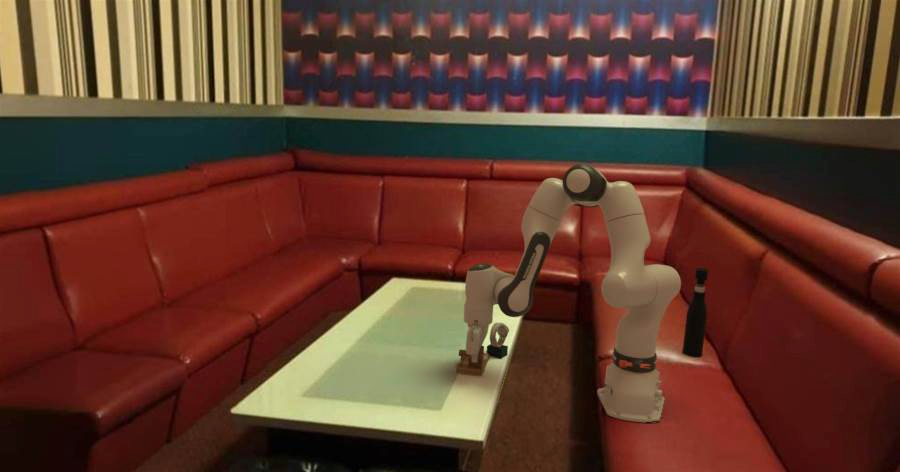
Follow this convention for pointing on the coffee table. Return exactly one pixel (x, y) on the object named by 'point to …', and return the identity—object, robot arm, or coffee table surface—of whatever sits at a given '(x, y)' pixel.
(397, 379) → the coffee table surface
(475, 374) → the board
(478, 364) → the brown stepped block
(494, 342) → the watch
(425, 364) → the coffee table surface
